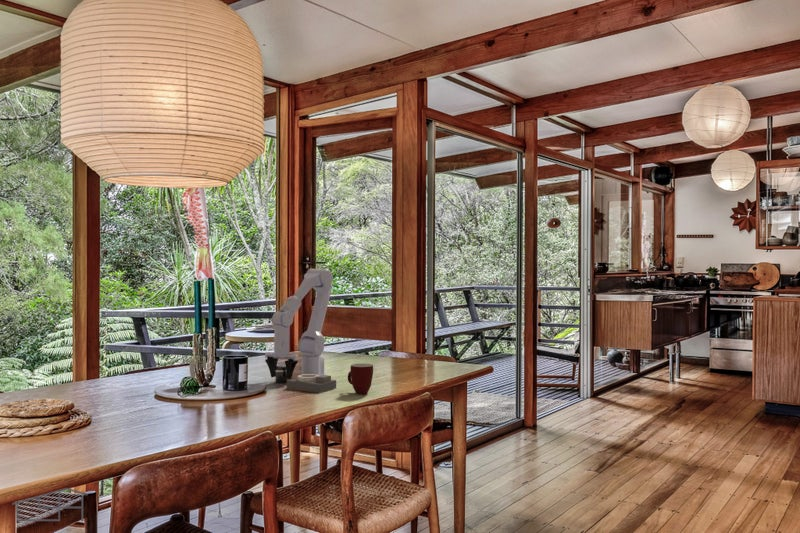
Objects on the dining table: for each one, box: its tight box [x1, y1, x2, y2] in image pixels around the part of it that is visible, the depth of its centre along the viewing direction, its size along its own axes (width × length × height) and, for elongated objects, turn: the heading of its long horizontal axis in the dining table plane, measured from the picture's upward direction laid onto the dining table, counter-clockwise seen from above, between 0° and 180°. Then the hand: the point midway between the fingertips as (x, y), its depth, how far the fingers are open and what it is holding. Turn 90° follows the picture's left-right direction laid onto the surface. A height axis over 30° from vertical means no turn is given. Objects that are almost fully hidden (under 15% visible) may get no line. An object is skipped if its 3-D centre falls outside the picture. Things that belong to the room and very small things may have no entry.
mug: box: [347, 363, 374, 395], centre depth 224 cm, size 10×8×10 cm
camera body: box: [286, 373, 337, 394], centre depth 231 cm, size 10×15×5 cm, turn 63°
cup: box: [188, 357, 207, 378], centre depth 233 cm, size 8×8×10 cm
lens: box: [275, 365, 288, 385], centre depth 242 cm, size 5×5×6 cm
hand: (281, 377), depth 242 cm, fingers open, 7 cm apart
